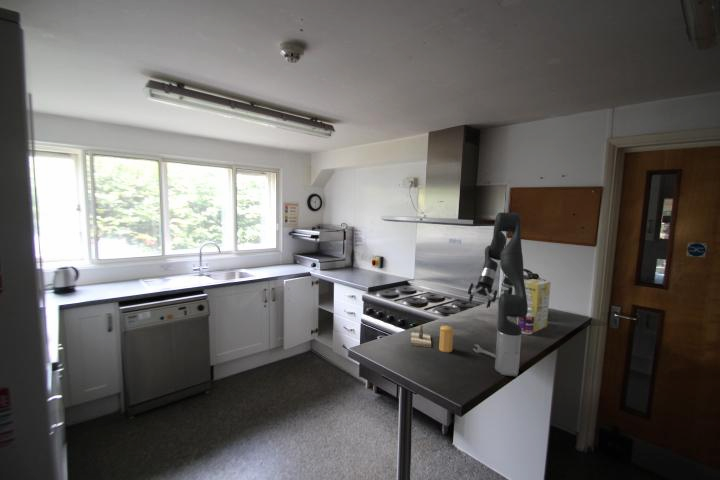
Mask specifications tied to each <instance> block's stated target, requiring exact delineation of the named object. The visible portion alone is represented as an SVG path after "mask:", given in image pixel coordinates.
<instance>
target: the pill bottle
mask: <svg viewBox="0 0 720 480" xmlns="http://www.w3.org/2000/svg"><path fill="white" fill-rule="evenodd" d="M518 325H519V326H520V327H521V328H522V333H521V335H522V334H523V335H532V334H533V333H534V332H533V326H534V314H533V313H532V309H531V308H528V312H527V315H526V317H524V318H521V317H518Z"/></svg>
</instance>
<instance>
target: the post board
mask: <svg viewBox="0 0 720 480" xmlns="http://www.w3.org/2000/svg"><path fill="white" fill-rule="evenodd" d="M423 328H424V327H423V325H422V324H420V325H419V332H411V333H410V346H417V347H425V348H432V340H431V334H430V333H424V331H423V330H424V329H423Z"/></svg>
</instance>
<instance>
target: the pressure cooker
mask: <svg viewBox="0 0 720 480" xmlns="http://www.w3.org/2000/svg"><path fill="white" fill-rule="evenodd" d="M523 270H524V272H525V273H526V274H524V281H525V280H530V279H536V280H542V281H547V280H546V279H544V278H541V277H540V275H539V274H538V273H534V272H533V271H532V270H530V269H527V268H523ZM503 277H504V278H503V281H502V283H501V286H500V295H501V294H512V295H516V291H515V288H514V286H513V285H512V283H511V282H510V280H509V279H508V278H507V277H506V275H504V276H503ZM500 295H499V296H500Z"/></svg>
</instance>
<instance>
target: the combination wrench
mask: <svg viewBox="0 0 720 480" xmlns="http://www.w3.org/2000/svg"><path fill="white" fill-rule="evenodd" d="M474 346H475V347H476V348H477V349H476V348H472V350H473V351H474V352H475V353H477V354H478V353H482V354H484V355H487V356H489V357H492V358H494V359H495V358H496V353H492V352H490V351H487V350H485V349H483V348H482V346H480V345H479V344H474Z"/></svg>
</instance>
